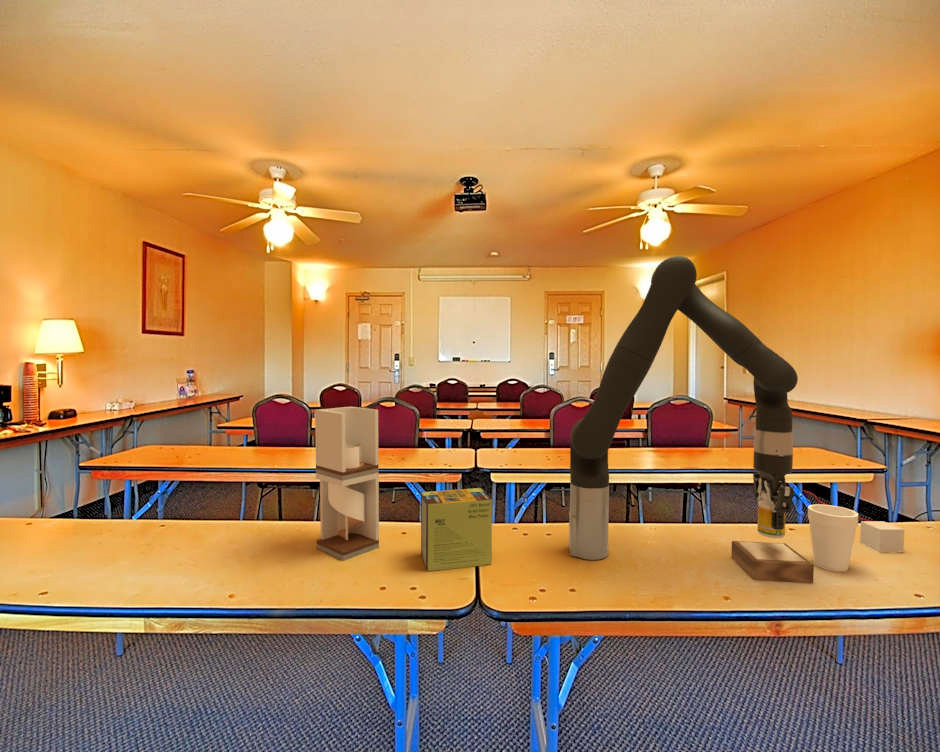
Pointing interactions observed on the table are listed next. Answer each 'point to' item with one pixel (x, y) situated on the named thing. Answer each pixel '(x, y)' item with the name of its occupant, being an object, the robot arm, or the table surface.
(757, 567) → the base slab
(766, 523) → the supplement bottle
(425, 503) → the protein box
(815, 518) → the foam cup
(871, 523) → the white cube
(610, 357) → the robot arm
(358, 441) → the beige cubby shelf tower
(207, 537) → the table surface
